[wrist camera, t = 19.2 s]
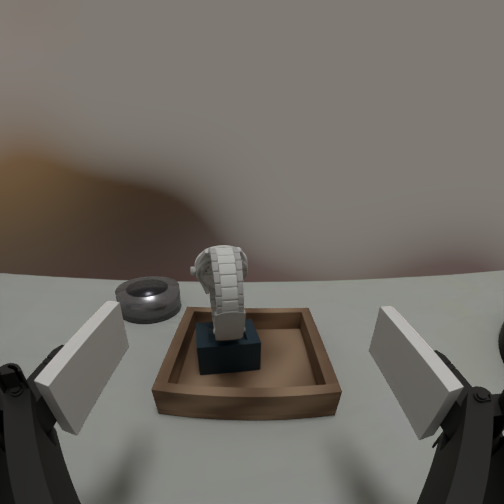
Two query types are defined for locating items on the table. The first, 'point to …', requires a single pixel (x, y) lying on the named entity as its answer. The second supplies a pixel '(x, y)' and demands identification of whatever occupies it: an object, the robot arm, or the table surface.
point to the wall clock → (501, 342)
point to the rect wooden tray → (252, 372)
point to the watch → (225, 314)
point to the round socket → (149, 299)
